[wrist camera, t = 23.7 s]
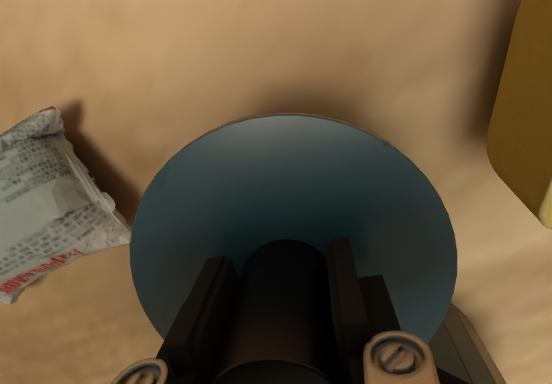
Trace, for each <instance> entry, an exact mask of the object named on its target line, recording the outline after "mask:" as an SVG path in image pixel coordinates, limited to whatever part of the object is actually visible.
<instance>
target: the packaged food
mask: <svg viewBox="0 0 552 384" xmlns="http://www.w3.org/2000/svg"><path fill="white" fill-rule="evenodd" d="M61 113H62V112H59V111H58V109H57V108H55V107H53V106H52V107H49V108H47V109H44V110H42V111H39V112H38V113H36V114H34V115H32V116H30V117H28V118H27V119H25V120H23V121H21V122H20V123H18V124H16V125H15V126H13V127H12V128H11V129H9V130H8V131H6V132H4V133H2V134H1V135H0V302H1V303H3V304H5V305H10V304H13V303H15V302H16V301H17V299H18V297H19V296H20V294H21V293H22V292H23V291H24V289H25V288H26V286H28V285H29V284H30V283H32V282H34V281H35V280H37V279H38V278H39V277H41V276H42V275H46V274H47V273H49V272H51V271H53V270H55V269H57V268H59V267H61V266H63V265H67V264H69V263H71V262H72V261H73V260H74V259H77V258H79V257H80V256H84V255H89V254H92V253H96V252H97V251H101V250H105V249H109V248H113V247H117V246H121V245H125V244H127V243H130V240H131V232H132V228H130V227H129V226H128V225H127V223H126V219H125V218H124V217H123V216H122V215H121V214H120V213H119V212H118V211H117V210H116V209H115V202H114V200H113V199H112V198H111V197H110V196H109V195H108V194H107V193H106V192H103V193H102V191H101V190H100V188H99V187H98V185H97V184H96V183H95V178H94V177H93V175H92V173H91V172H90V171H88V169H87V168H86V166H84V165H83V163H82V162H81V161H80V160H79V159H78V158H77V157H76V155H75V154H74V152H73V145H72V144H71V143H70V142H69V141H68V140H66V138H65V135H64V132H65V130H66V129H64V128H63V120H62V118H61V117H60V115H61ZM60 121H62V122H61V124H60Z"/></svg>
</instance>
